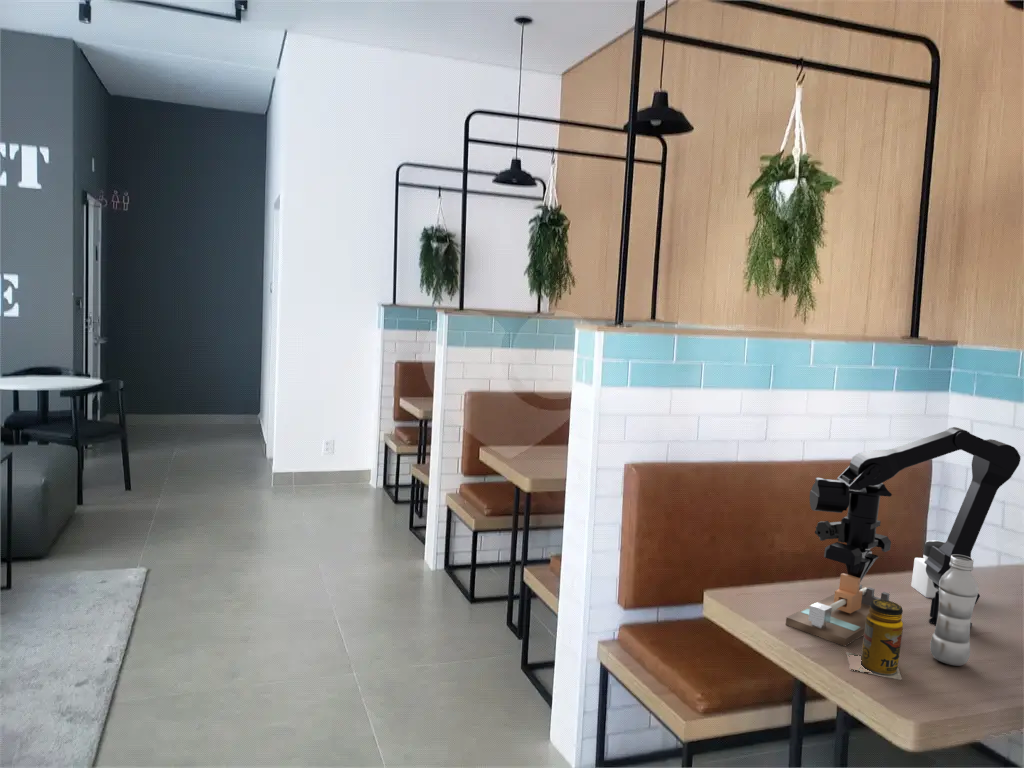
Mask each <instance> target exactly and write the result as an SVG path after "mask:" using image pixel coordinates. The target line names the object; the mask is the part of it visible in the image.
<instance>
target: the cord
mask: <svg viewBox="0 0 1024 768" xmlns="http://www.w3.org/2000/svg"><path fill="white" fill-rule="evenodd" d="M867 588H868V587H862V589H861V590H860V591H863V593H862V595H864V594H866V589H867ZM845 604H847V599H845V598H843V599H841V600H839V601H837V602H835V603H833V604H831V605H829V606H830V607H832V610H831V612H832V611H834V610H835V609H837V608H839V607H841V606H843V605H845Z"/></svg>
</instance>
